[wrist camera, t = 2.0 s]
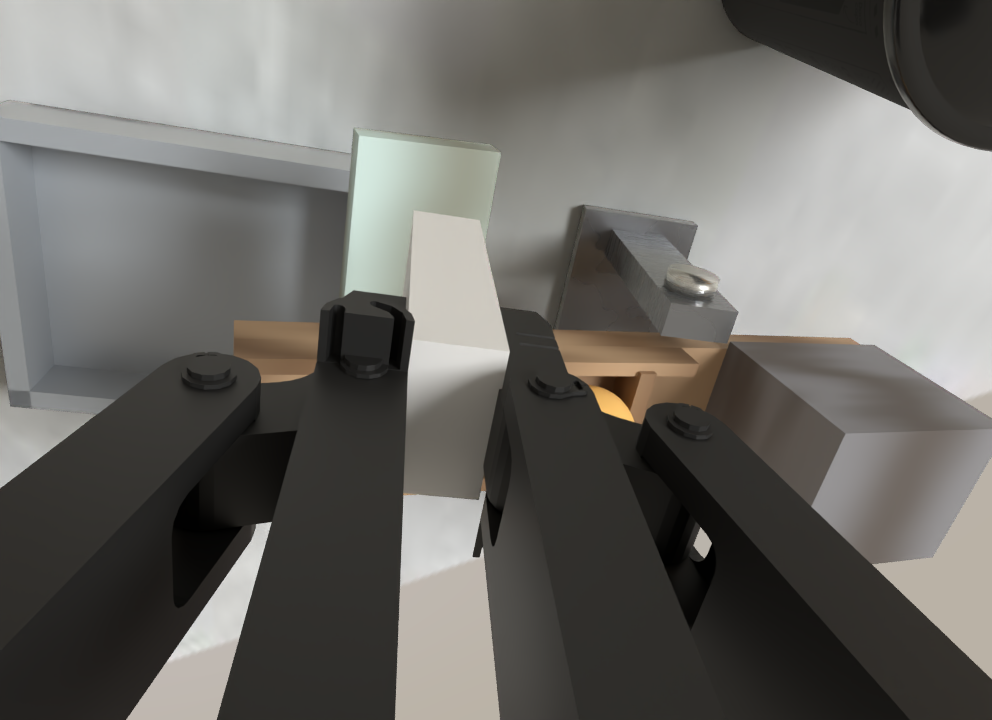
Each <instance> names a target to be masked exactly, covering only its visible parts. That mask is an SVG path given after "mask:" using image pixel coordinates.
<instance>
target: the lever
mask: <svg viewBox="0 0 992 720" xmlns="http://www.w3.org/2000/svg"><path fill="white" fill-rule="evenodd" d="M500 157H501V152H500V151H498V150H497V149H496V148H495V147H493V146H492V145H491V144H482V143H474V142H466V141H458V140H450V139H442V138H434V137H426V136H418V135H410V134H402V133H394V132H386V131H378V130H370V129H361V128H354V131H353V142H352V154H351V165H350V176H349V188H348V199H347V211H346V222H345V233H344V245H343V256H342V267H341V279H340V290H339V298H343V297H344V296H346V295H347V294H349V293H350V292H352V291H353V290H356V291H364V292H371V293H379V294H387V295H394V296H403V288H404V280H405V273H406V265H407V257H408V250H409V242H410V234H411V227H412V219H413V211H414V210H416V211H422V212H429V213H436V214H442V215H449V216H456V217H462V218H469V219H475V220H480V223H481V228H482V232H483V236H484V241H486V235H487V229H488V224H489V218H490V213H491V207H492V201H493V196H494V190H495V185H496V179H497V173H498V168H499V162H500ZM319 324H320V323H313V322H279V321H244V320H234V342H233V356H236V357H239V358H242V359H245V360H247V361H249V362H250V363H252V364H253V365H254V366H256V367H257V368H258V370H259V373H260V376H261V383H271V382H282V381H290V380H295V379H298V378H302V377H305V376H307V375H309V374H311V373H313V372H314V369H315V365H316V362H317V350H318V337H319ZM552 330H553V329H552ZM553 333H554V336H555V340H556V341H557V344H558V347H559V350H560V352H561V355H562V358H563V361H564V363H565V366H566V369H567V372H568V373H569V374H571V375H574V376H576V377H578V378H579V379H581V380H582V381H584V382H585V383H587V384H588V385H593V386H598V387H601V388H604V389H606V390H608V391H610V392H612V393H614V394H615V395H616V396H617V397H619V398H620V399H621V400H622V401H623V402H624V404H625V405H626V406H627V407H628V409H629V411H630V412H631V414H632V417H633V419H634V422H636V423H639V424H642V423H643V420H644V417H645V413H646V410H647V409H648V408H650V407H651V406H652V405H654V404H659V403H665V402H668V403H685V404H689V406H691V405H693V406H696V407H699V408H701V409H702V410H703V411H705V412H707V413H709V414H711V415H713V416H715V417H716V418H717V419H719V420H720V421H722V422H723V423H724V424H726V425H727V426H728V427H729V428H730V429H731V430H732V431H733V432H734V433H735V434H736V435H737V436H738V437H739V438H740V439H741V440H742V441H743V442H744V443H745V444H746V445H748V446H749V447H750V448H751V449H752V450H753V451H754V452H755V453H756V454H757V455H758V456H759V457H760V458H761V459H762V460H763V461H764V462H765V463H766V464H767V465H768V466H769V467H770V468H772V469H773V470H774V471H775V472H776V473H777V474H778V475H779V476H780V477H781V478H782V479H783V480H784V481H785V482H786V483H787V484H788V485H789V486H790V487H791V488H792V489H793V490H795V491H796V492H797V493H798V494H799V495H800V496H801V497H802V498H803V499H804V500H805V501H806V502H807V503H808V504H809V505H810V506H811V507H812V508H813V509H814V510H815V511H816V512H817V513H819V514H820V515H821V516H822V517H823V518H824V519H825V520H826V521H827V522H828V523H829V524H830V525H831V526H832V527H833V528H834V529H835V530H836V531H837V532H838V533H839V534H840V535H841V536H843V537H844V538H845V539H846V540H847V541H848V542H849V543H850V544H851V545H852V546H853V547H854V548H855V549H856V550H857V551H858V552H859V553H860V554H861V555H862V556H863V557H864V558H866V559H867V560H868V561H869V562H870V563H871V564H878V563H886V562H895V561H903V560H912V559H921V558H930V557H933V556H934V554H935V552H936V550H937V549H938V547H939V546H940V544H941V542H942V540H943V539H944V537H945V535H946V534H947V532H948V530H949V528H950V527H951V525H952V523H953V522H954V520H955V518H956V517H957V515H958V513H959V511H960V510H961V508H962V506H963V505H964V503H965V501H966V499H967V498H968V496H969V494H970V493H971V491H972V489H973V487H974V486H975V484H976V482H977V481H978V479H979V477H980V476H981V474H982V472H983V470H984V469H985V467H986V465H987V464H988V462H989V460H990V459H991V457H992V418H990V417H989V416H987V415H986V414H984V413H982V412H981V411H979V410H978V409H976V408H974V407H973V406H971V405H969V404H968V403H966V402H965V401H963V400H962V399H960V398H958V397H957V396H955V395H954V394H952V393H950V392H949V391H947V390H946V389H944V388H942V387H941V386H939V385H938V384H936V383H934V382H933V381H931V380H930V379H928V378H926V377H925V376H923V375H922V374H920V373H918V372H917V371H915V370H914V369H912V368H910V367H909V366H907V365H906V364H904V363H902V362H901V361H899V360H898V359H896V358H894V357H893V356H891V355H890V354H888V353H886V352H885V351H883V350H882V349H880V348H878V347H877V346H875V345H860V344H858V343H857V342H855V341H854V340H852V339H851V338H827V337H793V336H758V335H730V337H729V340H728V343H727V344H724V343H716V342H708V341H700V340H692V339H684V338H676V337H668V336H661V335H660V333H656V332H621V331H587V330H553ZM481 491H486V485H485V477H483V482H482V487H481ZM403 495H417V494H408V493H403Z"/></svg>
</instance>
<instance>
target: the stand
mask: <svg viewBox="0 0 992 720" xmlns="http://www.w3.org/2000/svg"><path fill="white" fill-rule="evenodd" d="M697 227H698V226H697V225H696V224H695V223H694V222H692V221H686V220H679V219H673V218H666V217H660V216H653V215H647V214H640V213H634V212H627V211H621V210H614V209H608V208H601V207H595V206H588V205H584V206H583V210H582V214H581V218H580V223H579V227H578V231H577V235H576V240H575V244H574V248H573V252H572V256H571V261H570V265H569V269H568V273H567V278H566V282H565V286H564V290H563V294H562V299H561V303H560V307H559V311H558V316H557V320H556V324H555V328H554V330H587V331H621V332H656V333H660V335H661V336H668V337H676V338H684V339H692V340H700V341H708V342H716V343H724V344H727V343H728V340H729V337H730V334H731V331H732V329H733V326H734V323H735V320H736V317H737V315H738V311H737V310H736V309H735V308H734V307H733V306H732V305H731V304H730V303H729V302H728V301H727V300H726V299H725V298H724V297H723V296H722V295H721V294H720V293H719V292H718V291H717V287H718V284H719V281H720V279H719V277H718V276H716V275H715V274H713V273H711V272H709V271H707V270H705V269H702V268H699V267H695V266H693V265H692V264H691V263H690V262H689V261H688V260H687V259H688V255H689V252H690V249H691V246H692V243H693V239H694V236H695V233H696V230H697Z"/></svg>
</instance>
